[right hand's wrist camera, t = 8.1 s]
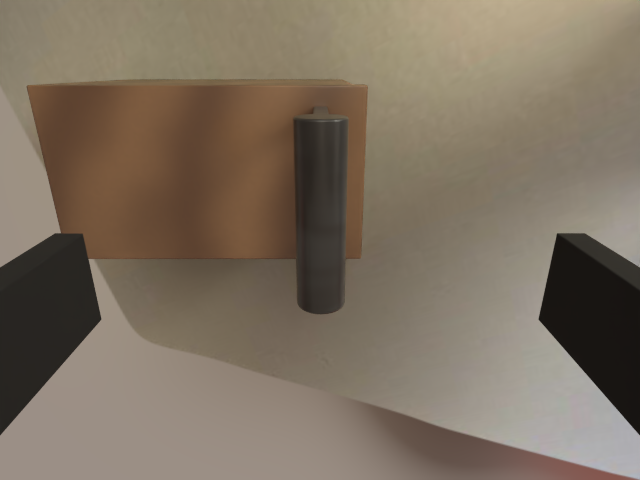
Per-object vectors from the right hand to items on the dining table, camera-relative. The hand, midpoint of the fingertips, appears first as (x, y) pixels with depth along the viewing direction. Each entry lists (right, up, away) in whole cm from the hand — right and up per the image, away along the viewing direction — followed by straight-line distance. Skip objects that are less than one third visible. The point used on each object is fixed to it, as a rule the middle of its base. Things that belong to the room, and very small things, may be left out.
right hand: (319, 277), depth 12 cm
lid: (-6, +5, +12) cm, 14 cm away
